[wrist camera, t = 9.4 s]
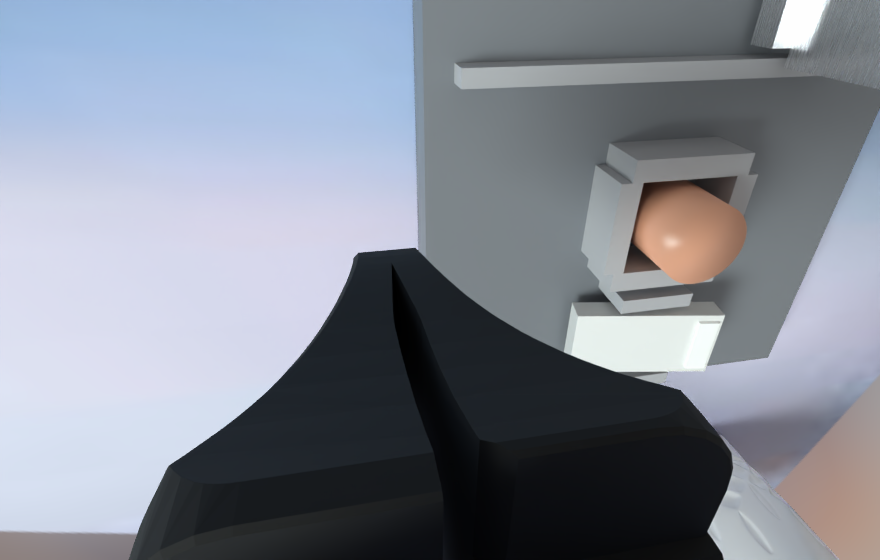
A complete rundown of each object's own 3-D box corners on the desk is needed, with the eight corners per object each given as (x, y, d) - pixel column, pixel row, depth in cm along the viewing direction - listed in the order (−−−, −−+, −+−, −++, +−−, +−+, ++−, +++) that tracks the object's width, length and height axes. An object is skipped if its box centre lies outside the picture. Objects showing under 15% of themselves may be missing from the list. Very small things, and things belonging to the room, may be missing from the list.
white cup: (754, 440, 34) (894, 595, 26) (670, 510, 37) (772, 671, 28) (684, 405, 31) (818, 571, 22) (597, 486, 33) (688, 660, 25)
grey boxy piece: (804, 61, 18) (936, 87, 14) (744, 63, 17) (862, 91, 14) (848, -62, 16) (1014, -70, 12) (781, -63, 16) (931, -73, 12)
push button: (682, 241, 21) (730, 279, 18) (614, 247, 20) (654, 288, 18) (702, 170, 19) (758, 201, 17) (628, 175, 19) (675, 208, 16)
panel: (741, 334, 28) (797, 383, 25) (421, 375, 25) (436, 437, 22) (904, -74, 18) (1034, -84, 15) (410, -83, 15) (434, -97, 12)
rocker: (694, 356, 23) (706, 373, 22) (562, 357, 23) (568, 374, 22) (713, 301, 21) (727, 317, 20) (572, 302, 21) (578, 318, 20)
